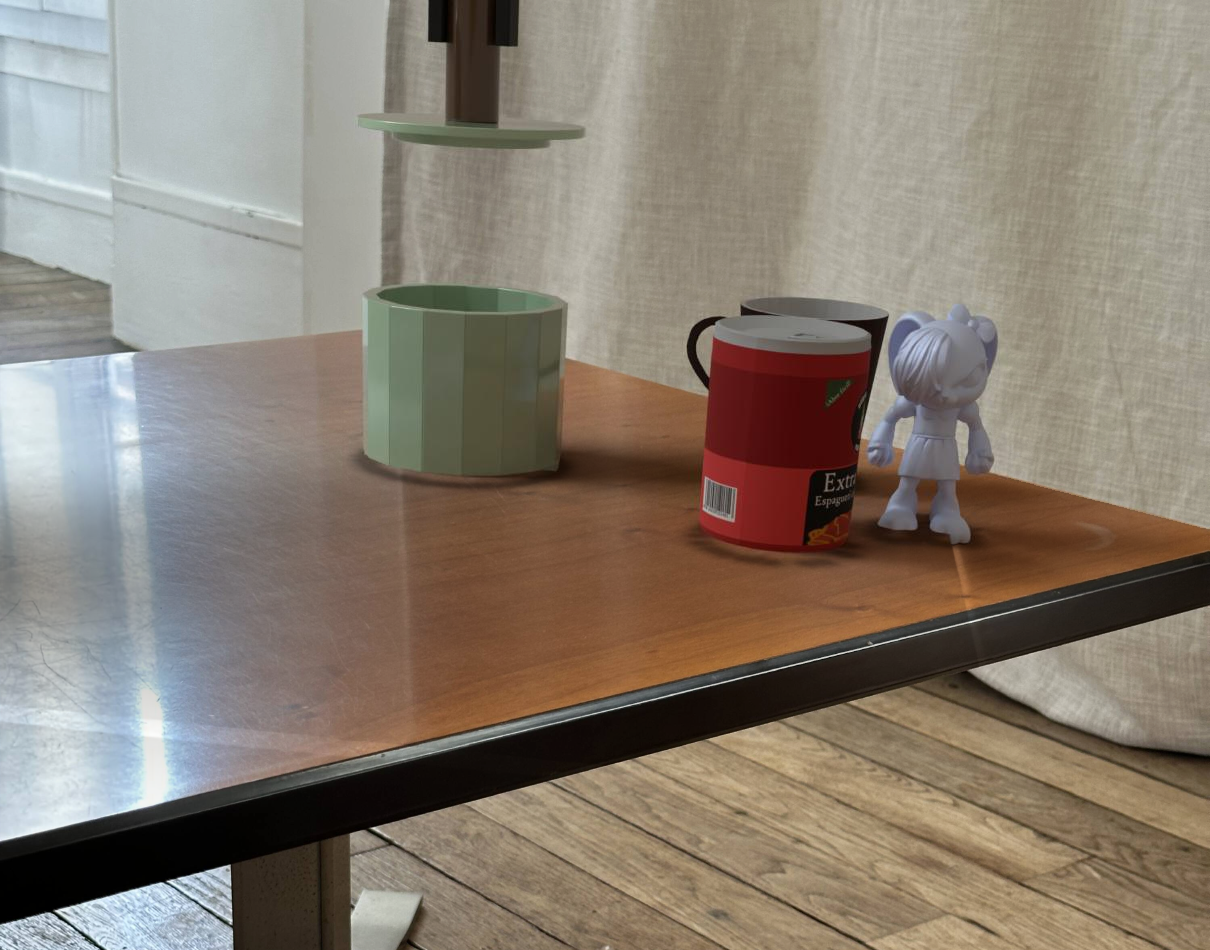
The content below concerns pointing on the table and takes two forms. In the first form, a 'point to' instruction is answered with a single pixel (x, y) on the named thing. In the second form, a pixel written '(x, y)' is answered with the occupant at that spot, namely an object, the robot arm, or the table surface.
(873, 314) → the coffee mug
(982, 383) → the toy figurine
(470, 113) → the lid
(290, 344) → the table surface
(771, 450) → the canned food
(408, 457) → the canister
